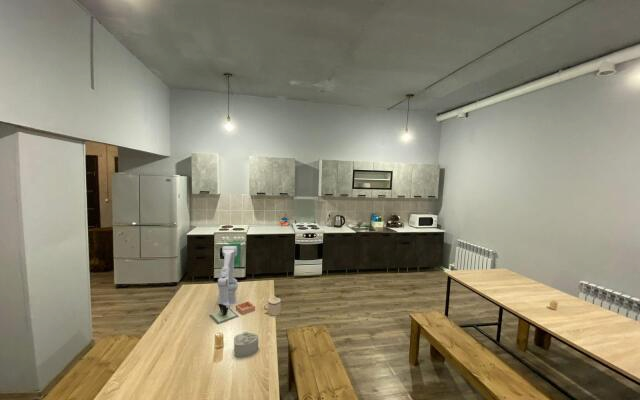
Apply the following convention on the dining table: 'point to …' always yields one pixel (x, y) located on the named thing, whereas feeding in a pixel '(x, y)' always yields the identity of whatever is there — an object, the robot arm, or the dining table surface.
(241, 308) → the dish
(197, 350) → the dining table surface
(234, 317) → the mat
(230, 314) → the lid
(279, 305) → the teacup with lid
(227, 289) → the robot arm
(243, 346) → the lumpy-topped squat cylinder
